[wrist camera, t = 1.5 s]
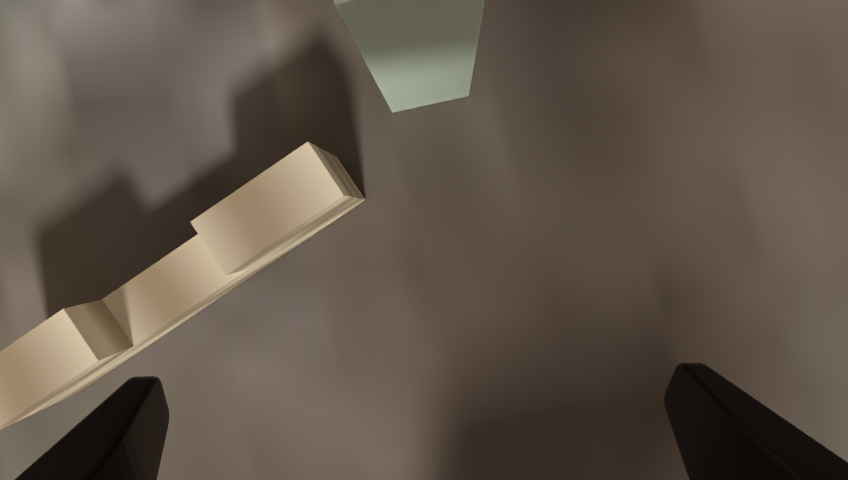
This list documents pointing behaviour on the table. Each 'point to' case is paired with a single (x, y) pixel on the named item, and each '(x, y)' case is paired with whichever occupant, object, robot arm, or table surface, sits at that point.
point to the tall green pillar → (416, 46)
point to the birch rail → (177, 281)
